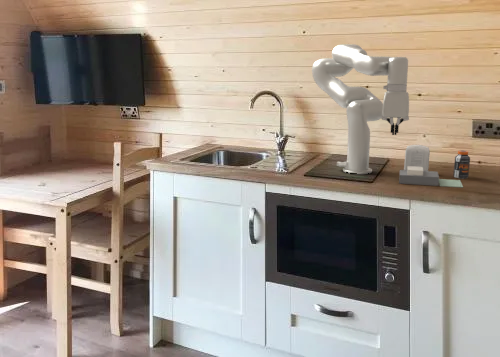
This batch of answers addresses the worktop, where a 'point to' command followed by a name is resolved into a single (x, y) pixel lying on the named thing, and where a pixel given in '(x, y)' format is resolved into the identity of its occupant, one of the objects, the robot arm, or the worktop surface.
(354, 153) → the robot arm
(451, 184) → the mat
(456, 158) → the pill bottle
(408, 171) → the tile
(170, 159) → the worktop surface
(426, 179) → the plate
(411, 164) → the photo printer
